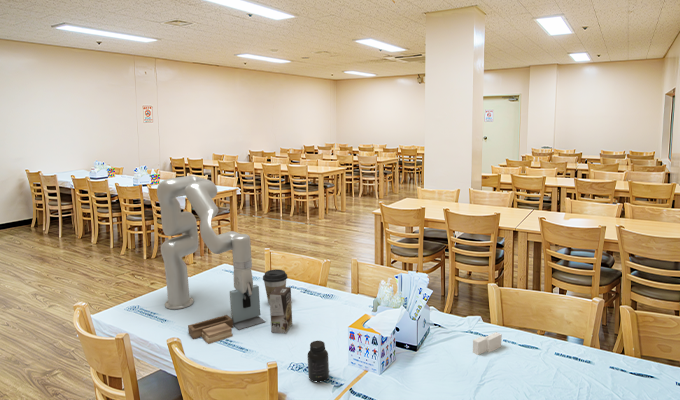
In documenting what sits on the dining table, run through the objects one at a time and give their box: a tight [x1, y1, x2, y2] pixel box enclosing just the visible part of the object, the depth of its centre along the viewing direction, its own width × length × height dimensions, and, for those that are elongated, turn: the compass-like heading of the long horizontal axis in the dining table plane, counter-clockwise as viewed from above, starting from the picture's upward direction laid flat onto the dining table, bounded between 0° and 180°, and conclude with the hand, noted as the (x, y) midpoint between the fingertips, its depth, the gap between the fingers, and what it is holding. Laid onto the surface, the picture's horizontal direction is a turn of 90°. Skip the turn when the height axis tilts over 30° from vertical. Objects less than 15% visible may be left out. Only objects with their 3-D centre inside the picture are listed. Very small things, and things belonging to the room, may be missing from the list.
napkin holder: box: [472, 331, 502, 356], centre depth 170 cm, size 15×11×6 cm
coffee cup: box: [262, 268, 288, 306], centre depth 215 cm, size 11×11×15 cm
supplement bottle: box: [307, 340, 330, 383], centre depth 154 cm, size 7×7×12 cm
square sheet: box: [229, 284, 261, 323], centre depth 197 cm, size 2×12×13 cm, turn 125°
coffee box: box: [269, 286, 293, 334], centre depth 190 cm, size 9×6×16 cm
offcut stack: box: [201, 323, 234, 345], centre depth 185 cm, size 7×10×4 cm
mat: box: [233, 315, 267, 331], centre depth 198 cm, size 12×12×1 cm
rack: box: [187, 314, 234, 340], centre depth 190 cm, size 6×16×4 cm, turn 125°
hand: (245, 305), depth 197 cm, fingers closed on square sheet, 2 cm apart
